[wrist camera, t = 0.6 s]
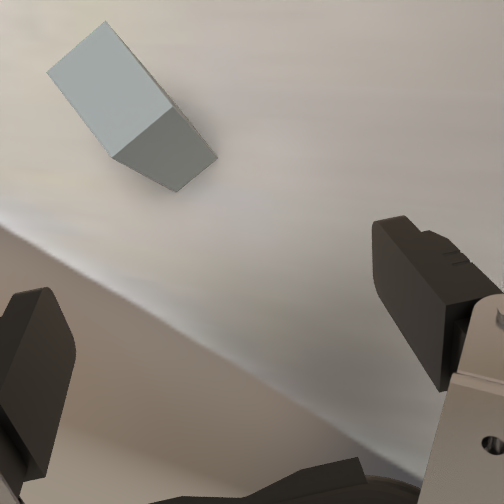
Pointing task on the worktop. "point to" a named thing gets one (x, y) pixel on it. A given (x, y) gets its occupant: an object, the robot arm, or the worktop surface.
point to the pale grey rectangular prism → (130, 110)
